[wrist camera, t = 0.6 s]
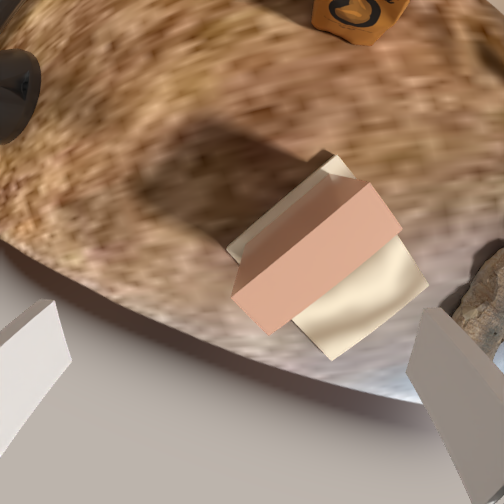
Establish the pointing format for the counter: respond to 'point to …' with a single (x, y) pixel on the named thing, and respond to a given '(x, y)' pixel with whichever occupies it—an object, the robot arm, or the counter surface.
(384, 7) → the coffee package
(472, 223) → the counter surface
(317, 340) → the birch board
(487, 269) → the clay tablet
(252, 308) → the salmon pink block
